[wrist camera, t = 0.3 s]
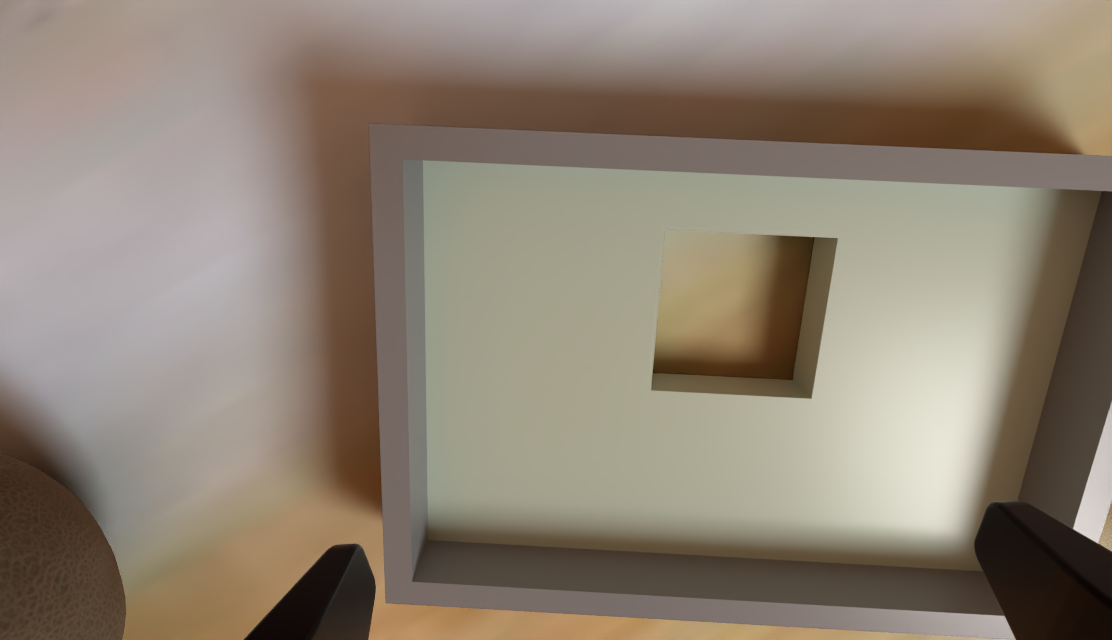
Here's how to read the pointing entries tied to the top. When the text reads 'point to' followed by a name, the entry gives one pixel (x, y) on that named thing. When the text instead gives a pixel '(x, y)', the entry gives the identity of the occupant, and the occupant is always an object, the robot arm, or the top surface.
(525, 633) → the top surface
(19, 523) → the brown ball
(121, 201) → the top surface
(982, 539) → the robot arm
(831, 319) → the tray
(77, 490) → the top surface
